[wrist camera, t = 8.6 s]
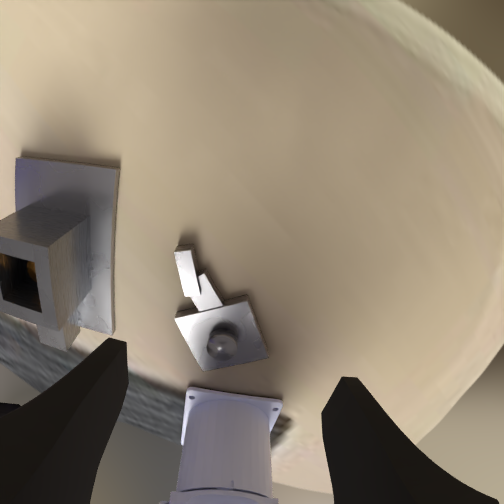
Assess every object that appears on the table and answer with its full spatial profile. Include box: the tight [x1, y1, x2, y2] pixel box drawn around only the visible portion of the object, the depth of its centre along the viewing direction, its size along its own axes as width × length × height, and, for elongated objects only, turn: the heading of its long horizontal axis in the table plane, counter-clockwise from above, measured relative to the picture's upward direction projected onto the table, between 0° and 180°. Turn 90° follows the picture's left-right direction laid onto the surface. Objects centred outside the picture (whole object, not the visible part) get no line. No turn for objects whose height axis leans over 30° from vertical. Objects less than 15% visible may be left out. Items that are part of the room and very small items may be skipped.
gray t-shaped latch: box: [174, 244, 269, 371], centre depth 20 cm, size 10×5×2 cm, turn 17°
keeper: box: [15, 157, 120, 352], centre depth 17 cm, size 12×8×4 cm, turn 168°
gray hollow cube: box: [0, 205, 92, 332], centre depth 16 cm, size 5×5×5 cm
